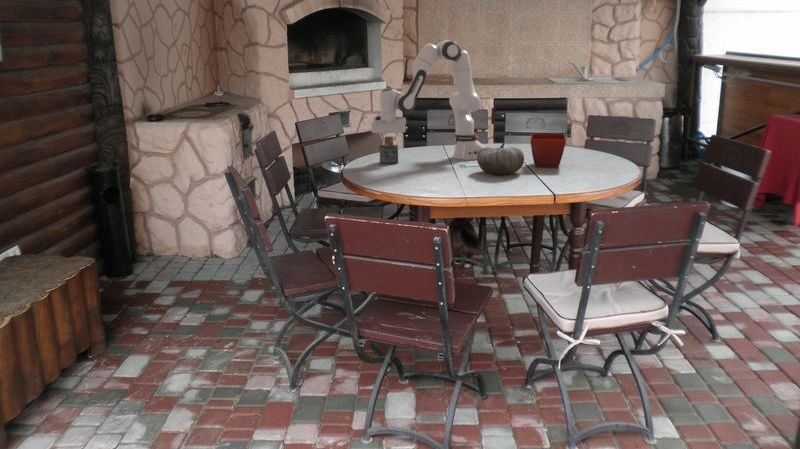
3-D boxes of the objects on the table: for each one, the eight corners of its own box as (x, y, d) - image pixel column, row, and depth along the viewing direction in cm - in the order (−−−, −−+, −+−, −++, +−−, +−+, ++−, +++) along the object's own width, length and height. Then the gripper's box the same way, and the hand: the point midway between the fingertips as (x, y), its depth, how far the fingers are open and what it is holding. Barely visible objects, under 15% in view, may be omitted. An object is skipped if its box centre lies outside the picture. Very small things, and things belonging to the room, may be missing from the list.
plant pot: (564, 169, 384) (565, 139, 380) (529, 168, 388) (530, 138, 383) (563, 162, 402) (565, 133, 398) (530, 162, 406) (531, 133, 401)
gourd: (507, 175, 359) (505, 141, 357) (468, 177, 375) (466, 145, 374) (532, 172, 377) (530, 140, 376) (494, 174, 394) (492, 143, 392)
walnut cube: (393, 144, 410) (393, 136, 409) (393, 146, 406) (392, 137, 404) (384, 144, 410) (384, 136, 409) (384, 146, 406) (384, 137, 404)
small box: (398, 162, 414) (398, 144, 411) (397, 164, 407) (397, 146, 404) (381, 161, 415) (380, 144, 412) (379, 164, 408) (379, 146, 406)
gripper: (405, 115, 407) (406, 139, 410) (371, 116, 406) (371, 139, 410) (406, 117, 400) (406, 140, 404) (370, 117, 400) (371, 141, 404)
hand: (388, 140), depth 407 cm, fingers open, 6 cm apart
